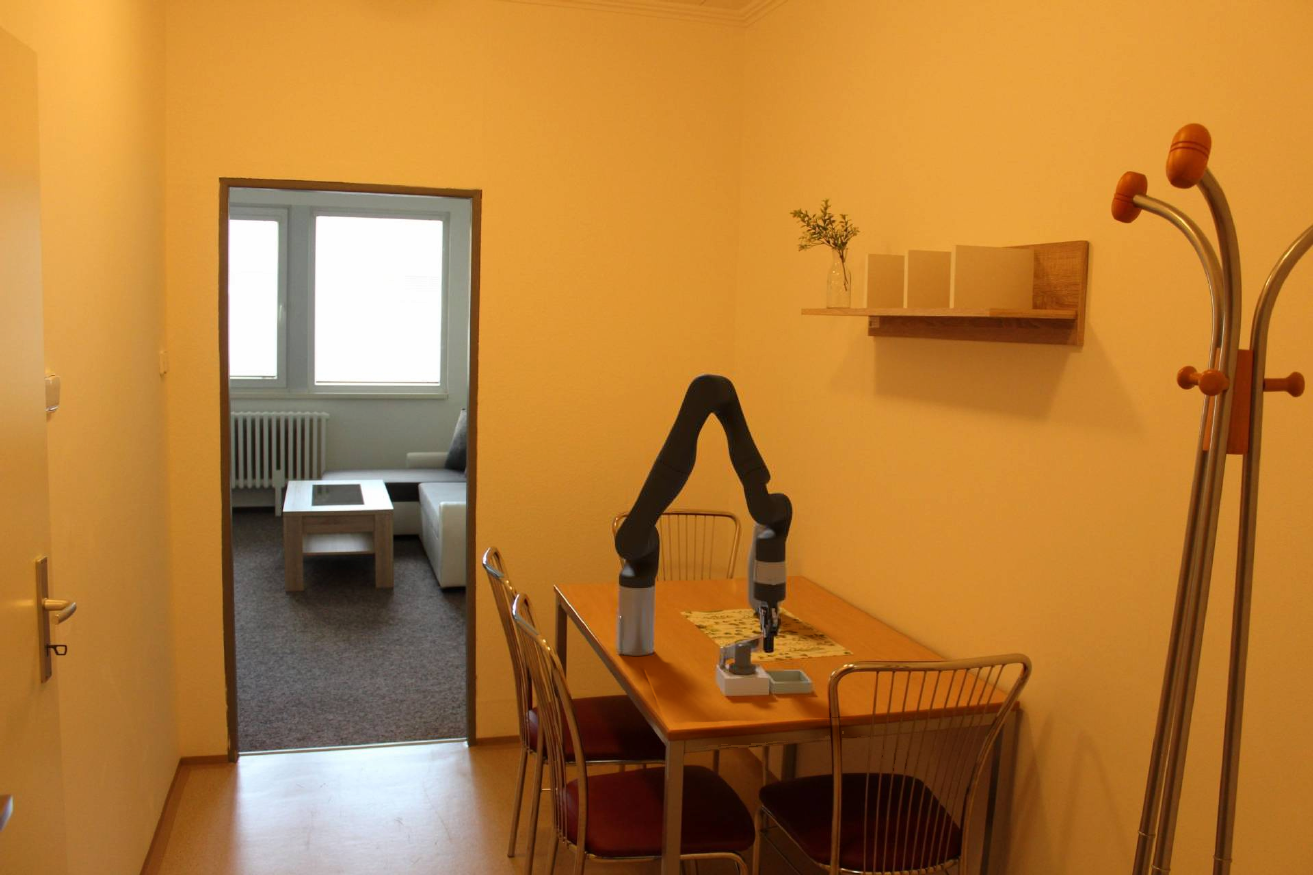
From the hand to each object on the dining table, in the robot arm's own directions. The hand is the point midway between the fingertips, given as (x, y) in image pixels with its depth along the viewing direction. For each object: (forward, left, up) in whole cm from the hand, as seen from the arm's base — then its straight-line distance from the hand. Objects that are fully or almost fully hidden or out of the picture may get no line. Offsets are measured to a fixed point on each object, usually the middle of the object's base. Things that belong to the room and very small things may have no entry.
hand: (768, 652), depth 250 cm
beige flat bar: (-6, -1, -1) cm, 6 cm away
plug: (-8, -9, -6) cm, 13 cm away
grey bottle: (+14, +60, -7) cm, 62 cm away
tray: (+2, -9, -6) cm, 10 cm away
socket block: (-8, -9, -7) cm, 13 cm away
